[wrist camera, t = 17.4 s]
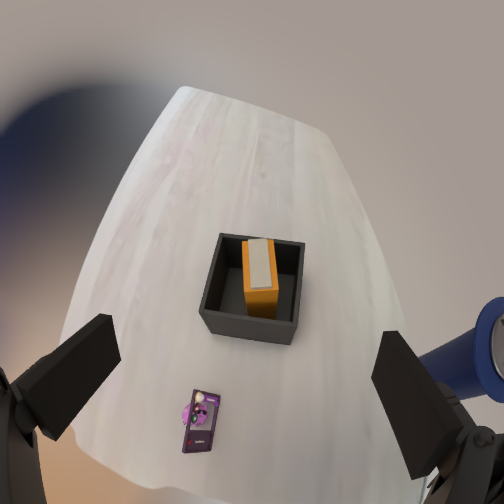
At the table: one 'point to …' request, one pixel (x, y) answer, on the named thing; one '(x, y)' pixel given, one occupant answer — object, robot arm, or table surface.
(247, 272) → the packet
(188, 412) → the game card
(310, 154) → the table surface
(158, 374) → the table surface
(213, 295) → the bin
